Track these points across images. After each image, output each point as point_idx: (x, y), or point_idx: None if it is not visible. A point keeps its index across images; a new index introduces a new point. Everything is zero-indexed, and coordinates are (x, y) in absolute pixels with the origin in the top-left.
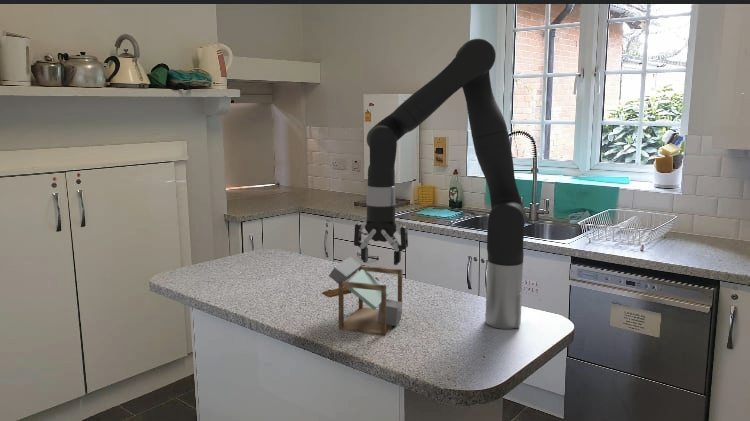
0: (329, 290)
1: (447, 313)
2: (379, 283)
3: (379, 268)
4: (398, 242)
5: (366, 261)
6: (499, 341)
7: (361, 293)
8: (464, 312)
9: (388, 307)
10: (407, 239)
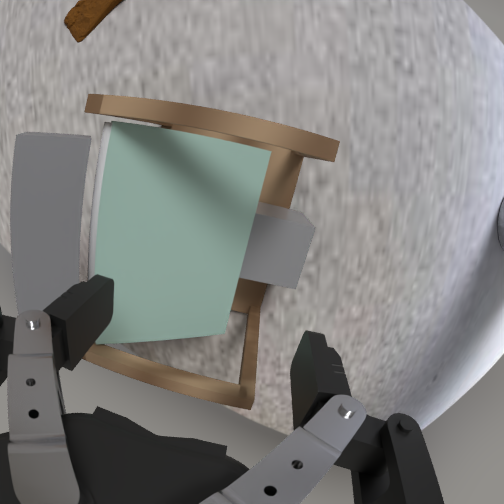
0: (78, 5)
1: (435, 143)
2: (213, 152)
3: (196, 126)
4: (348, 442)
5: (111, 303)
6: (484, 315)
7: (161, 329)
8: (472, 140)
9: (264, 281)
10: (428, 474)
